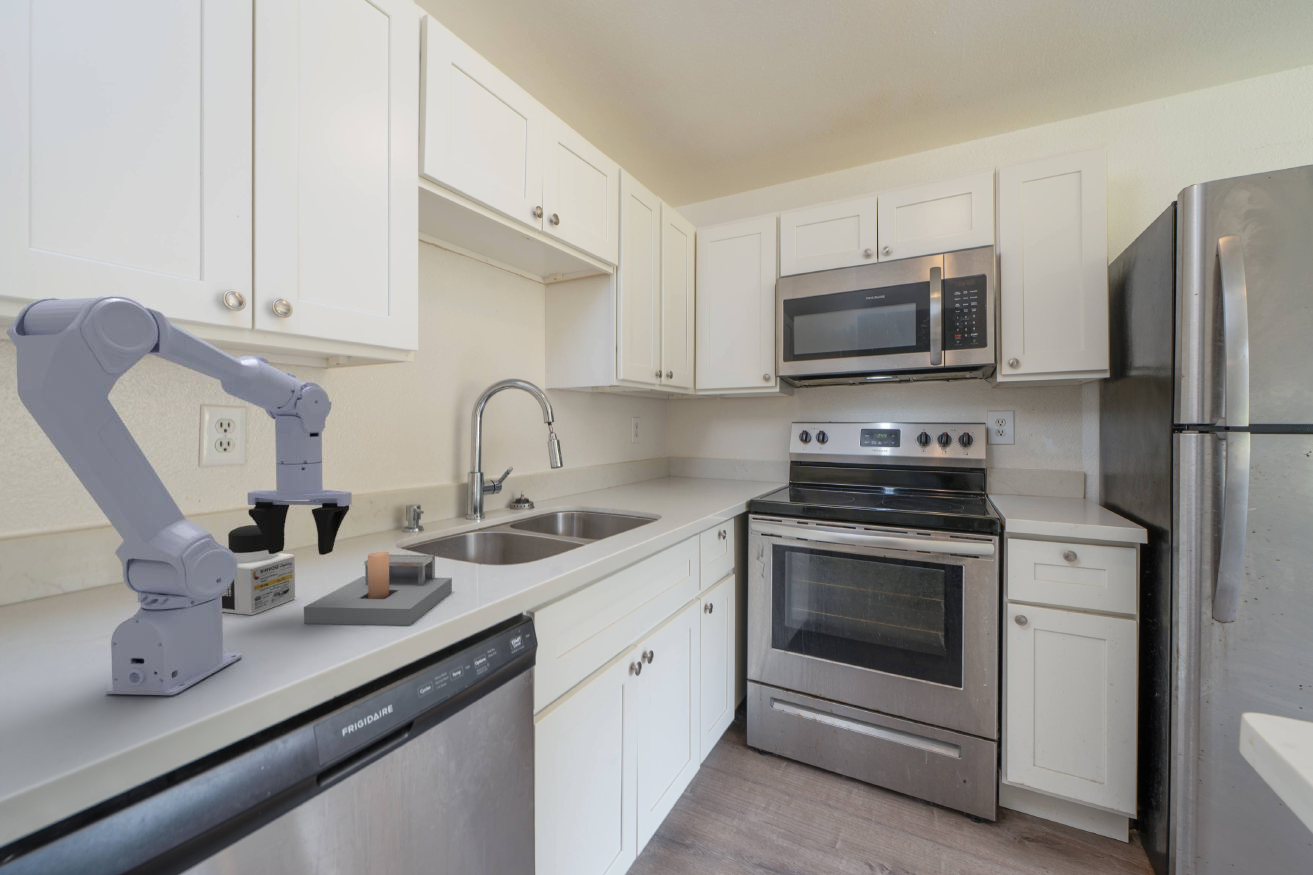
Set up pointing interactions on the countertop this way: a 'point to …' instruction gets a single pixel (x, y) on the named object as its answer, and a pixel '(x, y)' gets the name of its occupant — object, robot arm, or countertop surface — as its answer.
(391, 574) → the grey bridge
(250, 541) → the container
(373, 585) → the peg
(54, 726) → the countertop surface
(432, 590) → the socket board
